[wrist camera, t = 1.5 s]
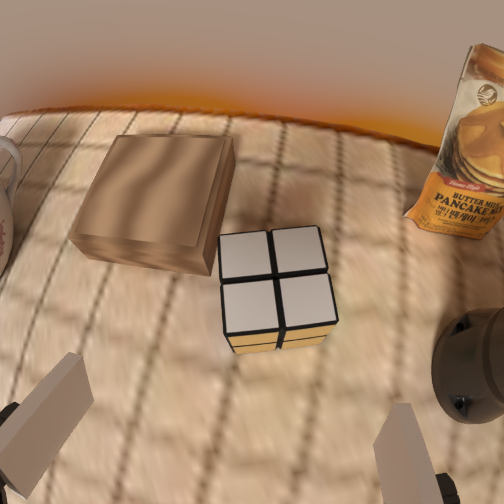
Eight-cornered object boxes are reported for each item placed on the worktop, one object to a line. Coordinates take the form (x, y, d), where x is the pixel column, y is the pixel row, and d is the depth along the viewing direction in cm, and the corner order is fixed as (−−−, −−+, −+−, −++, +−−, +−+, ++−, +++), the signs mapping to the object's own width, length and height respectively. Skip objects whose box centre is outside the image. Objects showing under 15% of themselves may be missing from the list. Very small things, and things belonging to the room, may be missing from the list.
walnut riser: (235, 165, 48) (232, 135, 42) (210, 276, 40) (201, 253, 34) (128, 160, 49) (116, 134, 44) (88, 258, 41) (67, 237, 36)
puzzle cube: (226, 274, 40) (216, 233, 31) (307, 265, 40) (319, 222, 31) (233, 355, 35) (223, 337, 26) (321, 344, 36) (340, 322, 27)
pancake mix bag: (391, 190, 45) (460, 25, 20) (488, 210, 43) (576, 89, 18) (395, 229, 42) (486, 57, 17) (497, 246, 40) (602, 126, 15)
